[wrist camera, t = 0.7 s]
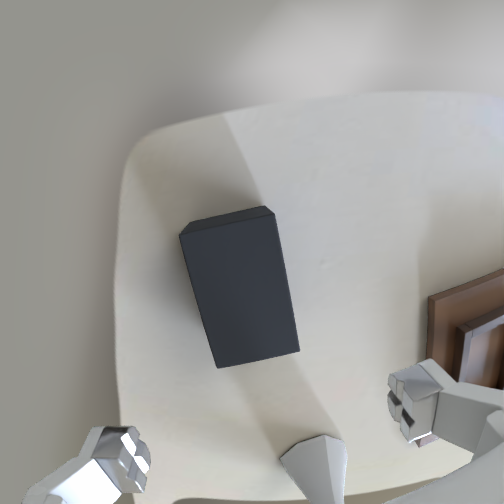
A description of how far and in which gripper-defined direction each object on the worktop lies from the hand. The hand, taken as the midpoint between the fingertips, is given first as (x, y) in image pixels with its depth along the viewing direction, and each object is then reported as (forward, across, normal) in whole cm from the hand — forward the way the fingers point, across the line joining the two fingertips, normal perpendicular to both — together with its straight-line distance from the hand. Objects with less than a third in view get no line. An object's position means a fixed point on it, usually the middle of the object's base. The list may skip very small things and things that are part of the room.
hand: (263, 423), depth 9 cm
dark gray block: (+15, 0, 0) cm, 15 cm away
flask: (+16, -3, +22) cm, 27 cm away
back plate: (+16, -23, +16) cm, 32 cm away
